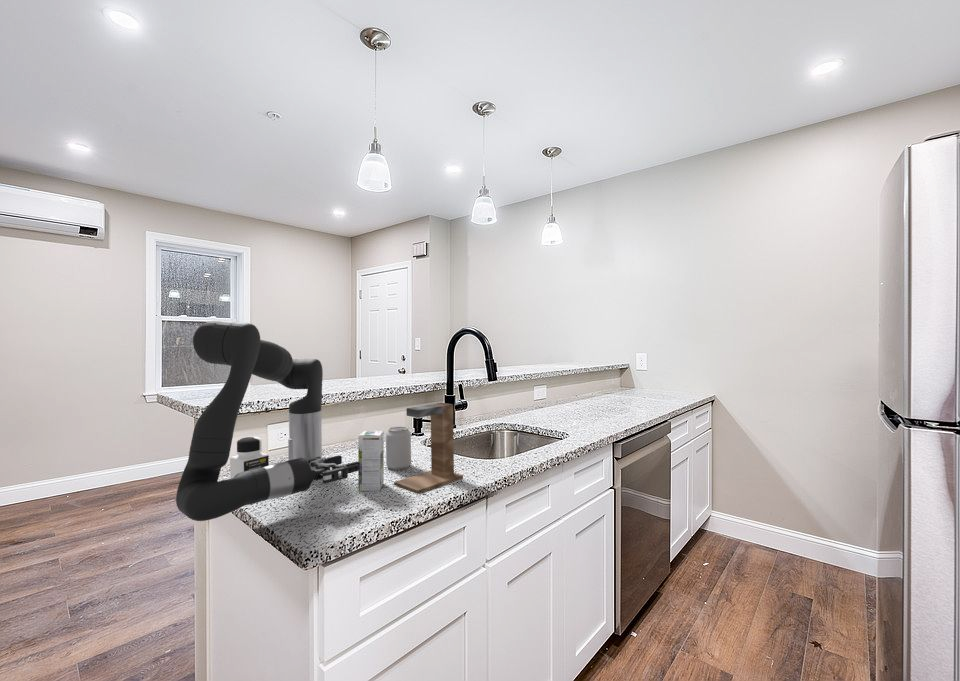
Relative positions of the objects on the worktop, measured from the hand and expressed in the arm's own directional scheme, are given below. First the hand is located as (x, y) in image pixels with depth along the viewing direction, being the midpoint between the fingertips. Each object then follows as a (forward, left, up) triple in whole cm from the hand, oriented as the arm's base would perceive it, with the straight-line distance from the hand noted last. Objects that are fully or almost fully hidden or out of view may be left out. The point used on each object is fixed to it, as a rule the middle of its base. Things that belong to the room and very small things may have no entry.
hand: (349, 462), depth 109 cm
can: (+14, +19, -8) cm, 25 cm away
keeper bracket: (+21, +3, -8) cm, 22 cm away
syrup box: (+5, +3, -8) cm, 10 cm away
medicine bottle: (-27, +20, -8) cm, 34 cm away
